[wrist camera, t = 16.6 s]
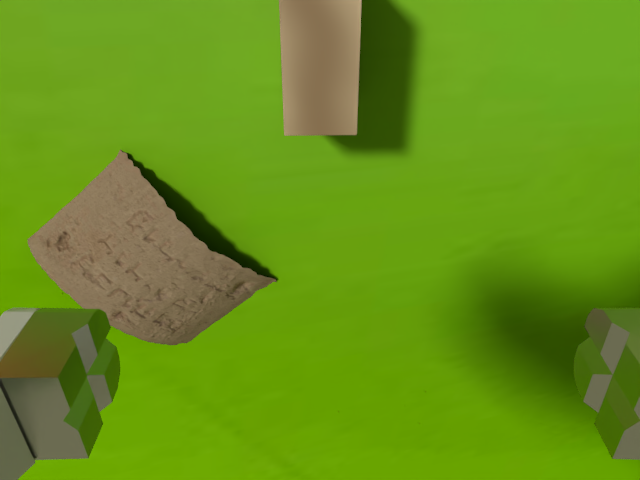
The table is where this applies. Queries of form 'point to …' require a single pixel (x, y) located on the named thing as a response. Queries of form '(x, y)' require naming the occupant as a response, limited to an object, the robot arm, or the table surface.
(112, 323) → the clay tablet
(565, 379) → the table surface
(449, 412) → the table surface
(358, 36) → the block
